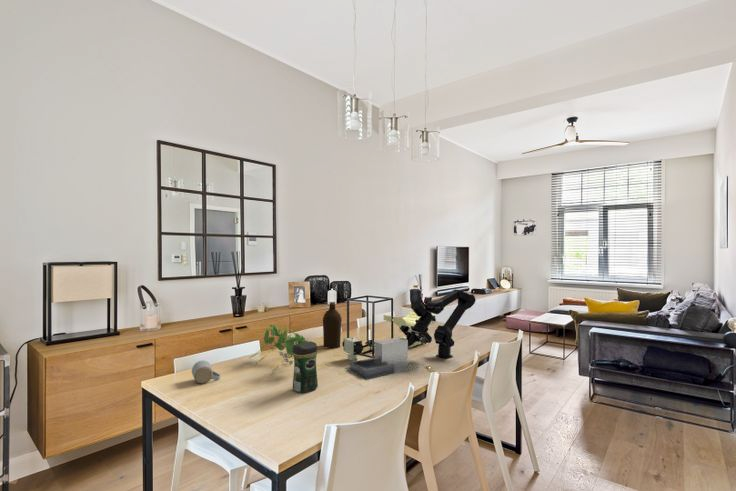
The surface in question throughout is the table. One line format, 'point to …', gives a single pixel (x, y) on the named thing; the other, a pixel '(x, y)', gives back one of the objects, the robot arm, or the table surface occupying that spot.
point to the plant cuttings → (288, 341)
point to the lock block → (391, 352)
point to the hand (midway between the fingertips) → (405, 347)
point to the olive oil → (332, 327)
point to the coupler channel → (375, 369)
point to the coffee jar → (305, 367)
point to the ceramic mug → (203, 372)
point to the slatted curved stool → (406, 322)
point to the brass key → (429, 368)
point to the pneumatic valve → (352, 347)
